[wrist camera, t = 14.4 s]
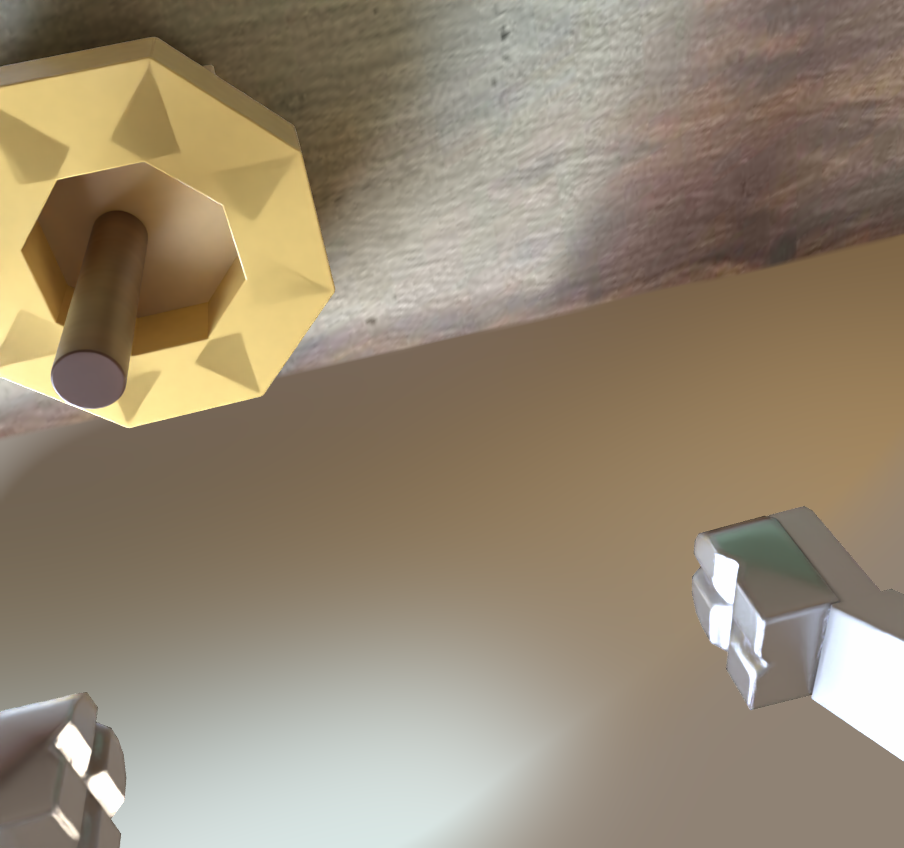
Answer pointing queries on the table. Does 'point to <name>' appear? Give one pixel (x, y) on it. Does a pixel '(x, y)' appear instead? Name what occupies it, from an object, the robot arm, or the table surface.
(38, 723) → the robot arm
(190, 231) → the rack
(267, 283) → the brass ring
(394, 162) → the table surface
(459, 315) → the table surface
